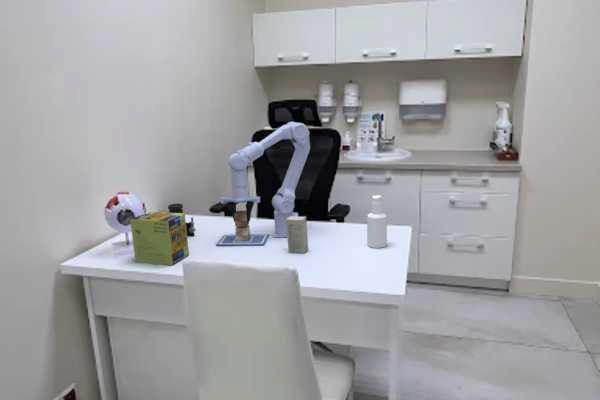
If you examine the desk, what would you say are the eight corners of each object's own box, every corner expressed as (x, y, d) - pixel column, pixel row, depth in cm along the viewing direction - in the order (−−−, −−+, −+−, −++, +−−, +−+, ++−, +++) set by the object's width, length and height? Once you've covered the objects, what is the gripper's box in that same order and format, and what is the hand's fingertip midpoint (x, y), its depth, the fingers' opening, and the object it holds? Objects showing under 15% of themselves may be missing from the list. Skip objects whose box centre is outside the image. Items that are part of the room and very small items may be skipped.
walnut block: (249, 223, 178) (248, 210, 177) (247, 226, 174) (246, 213, 173) (237, 223, 179) (236, 210, 178) (235, 226, 174) (234, 213, 173)
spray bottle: (388, 243, 168) (388, 194, 164) (383, 249, 162) (383, 199, 158) (370, 241, 171) (370, 193, 167) (364, 247, 165) (364, 198, 161)
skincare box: (308, 249, 165) (307, 216, 162) (304, 253, 161) (303, 219, 158) (291, 248, 167) (290, 215, 164) (287, 252, 163) (285, 218, 160)
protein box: (173, 265, 155) (168, 221, 152) (134, 262, 160) (129, 219, 157) (190, 255, 165) (185, 212, 161) (153, 251, 170) (148, 210, 166)
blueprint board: (269, 235, 183) (268, 234, 183) (264, 245, 171) (264, 244, 171) (224, 236, 184) (224, 234, 184) (216, 246, 173) (216, 244, 173)
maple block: (250, 237, 180) (249, 224, 179) (248, 241, 175) (247, 228, 174) (238, 237, 180) (237, 225, 179) (236, 241, 176) (235, 228, 175)
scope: (193, 201, 184) (178, 208, 175) (196, 235, 187) (182, 243, 178) (175, 201, 187) (160, 207, 178) (179, 233, 190) (164, 241, 181)
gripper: (217, 188, 170) (220, 224, 173) (256, 187, 168) (259, 223, 171) (222, 184, 176) (225, 219, 180) (260, 183, 175) (262, 218, 178)
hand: (242, 221), depth 176 cm, fingers closed on walnut block, 4 cm apart
